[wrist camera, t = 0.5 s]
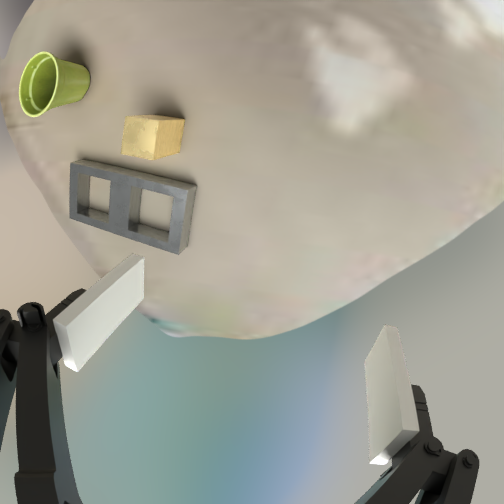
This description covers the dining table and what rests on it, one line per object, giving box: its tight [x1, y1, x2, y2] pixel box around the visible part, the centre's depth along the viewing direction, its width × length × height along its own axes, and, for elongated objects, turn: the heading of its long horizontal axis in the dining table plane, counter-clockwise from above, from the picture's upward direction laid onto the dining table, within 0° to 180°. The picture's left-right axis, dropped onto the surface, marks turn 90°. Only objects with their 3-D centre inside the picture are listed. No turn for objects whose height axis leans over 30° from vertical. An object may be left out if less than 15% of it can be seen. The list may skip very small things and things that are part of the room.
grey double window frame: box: [70, 159, 197, 255], centre depth 41 cm, size 9×20×3 cm, turn 77°
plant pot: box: [19, 52, 90, 117], centre depth 33 cm, size 9×9×9 cm
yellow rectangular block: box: [121, 115, 185, 160], centre depth 35 cm, size 4×4×7 cm
